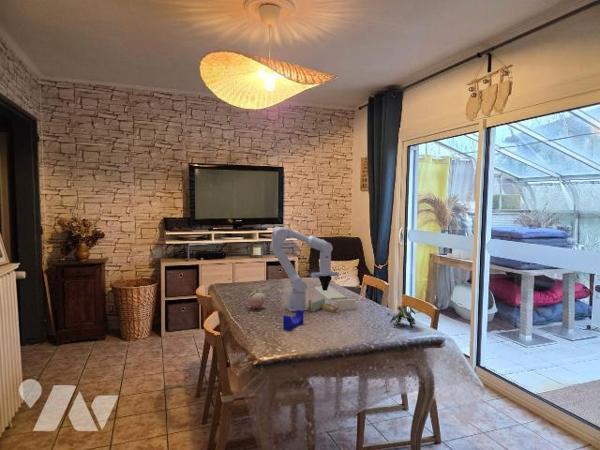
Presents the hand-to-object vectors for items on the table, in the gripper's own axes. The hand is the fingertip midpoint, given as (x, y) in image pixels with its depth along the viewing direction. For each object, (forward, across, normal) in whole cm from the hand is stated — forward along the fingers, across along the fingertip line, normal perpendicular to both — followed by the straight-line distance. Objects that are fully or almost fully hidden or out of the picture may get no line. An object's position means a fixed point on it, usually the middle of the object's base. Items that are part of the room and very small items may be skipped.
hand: (324, 290), depth 201 cm
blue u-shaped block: (+10, -24, -25) cm, 36 cm away
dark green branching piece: (+10, +23, -39) cm, 46 cm away
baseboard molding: (+10, +14, +31) cm, 35 cm away
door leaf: (+9, -4, -2) cm, 10 cm away
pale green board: (+9, +2, -6) cm, 11 cm away
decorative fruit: (+10, -35, +6) cm, 37 cm away
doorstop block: (+10, +1, -5) cm, 11 cm away
